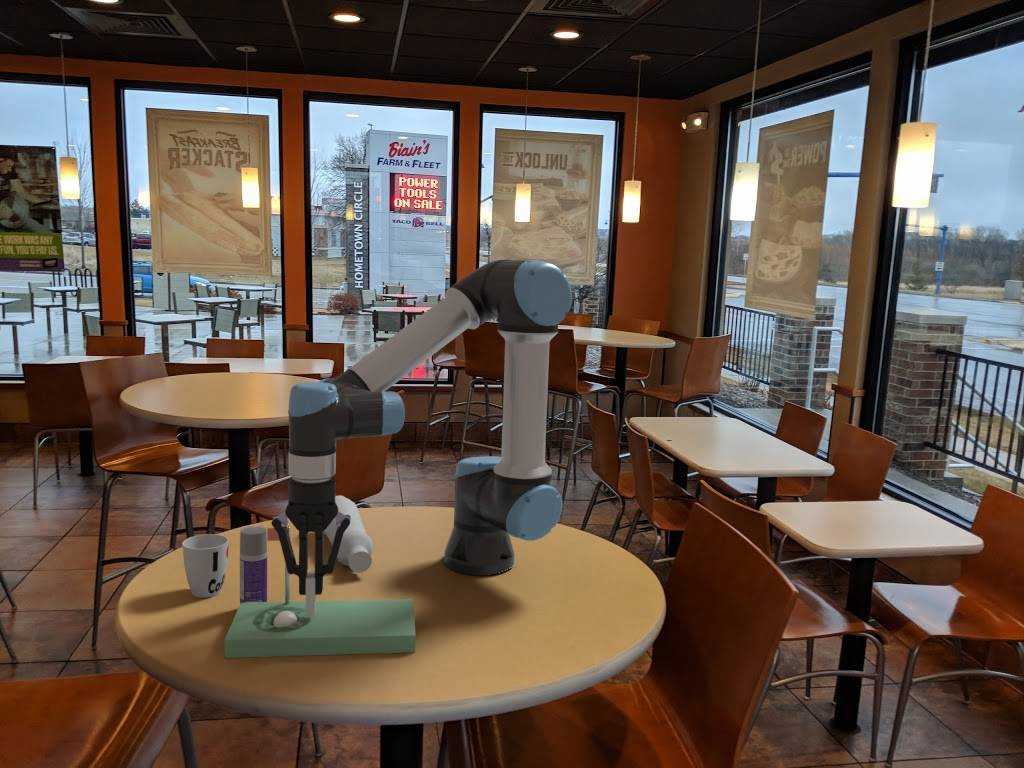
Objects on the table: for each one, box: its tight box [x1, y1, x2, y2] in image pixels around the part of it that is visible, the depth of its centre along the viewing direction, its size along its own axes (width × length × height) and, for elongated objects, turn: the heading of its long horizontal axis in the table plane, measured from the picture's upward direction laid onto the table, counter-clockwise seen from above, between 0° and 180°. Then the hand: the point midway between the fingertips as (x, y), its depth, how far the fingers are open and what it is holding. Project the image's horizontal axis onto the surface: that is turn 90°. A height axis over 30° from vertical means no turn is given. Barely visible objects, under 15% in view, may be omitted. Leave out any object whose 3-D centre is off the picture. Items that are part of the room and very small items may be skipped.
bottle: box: [324, 495, 374, 574], centre depth 172 cm, size 9×9×30 cm
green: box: [224, 598, 417, 659], centre depth 134 cm, size 30×14×3 cm, turn 99°
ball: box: [273, 611, 298, 627], centre depth 134 cm, size 4×4×4 cm
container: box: [239, 525, 268, 604], centre depth 141 cm, size 5×5×15 cm
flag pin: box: [266, 525, 291, 605], centre depth 138 cm, size 4×1×14 cm, turn 99°
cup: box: [181, 533, 230, 599], centre depth 148 cm, size 8×8×10 cm
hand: (310, 611), depth 134 cm, fingers closed
